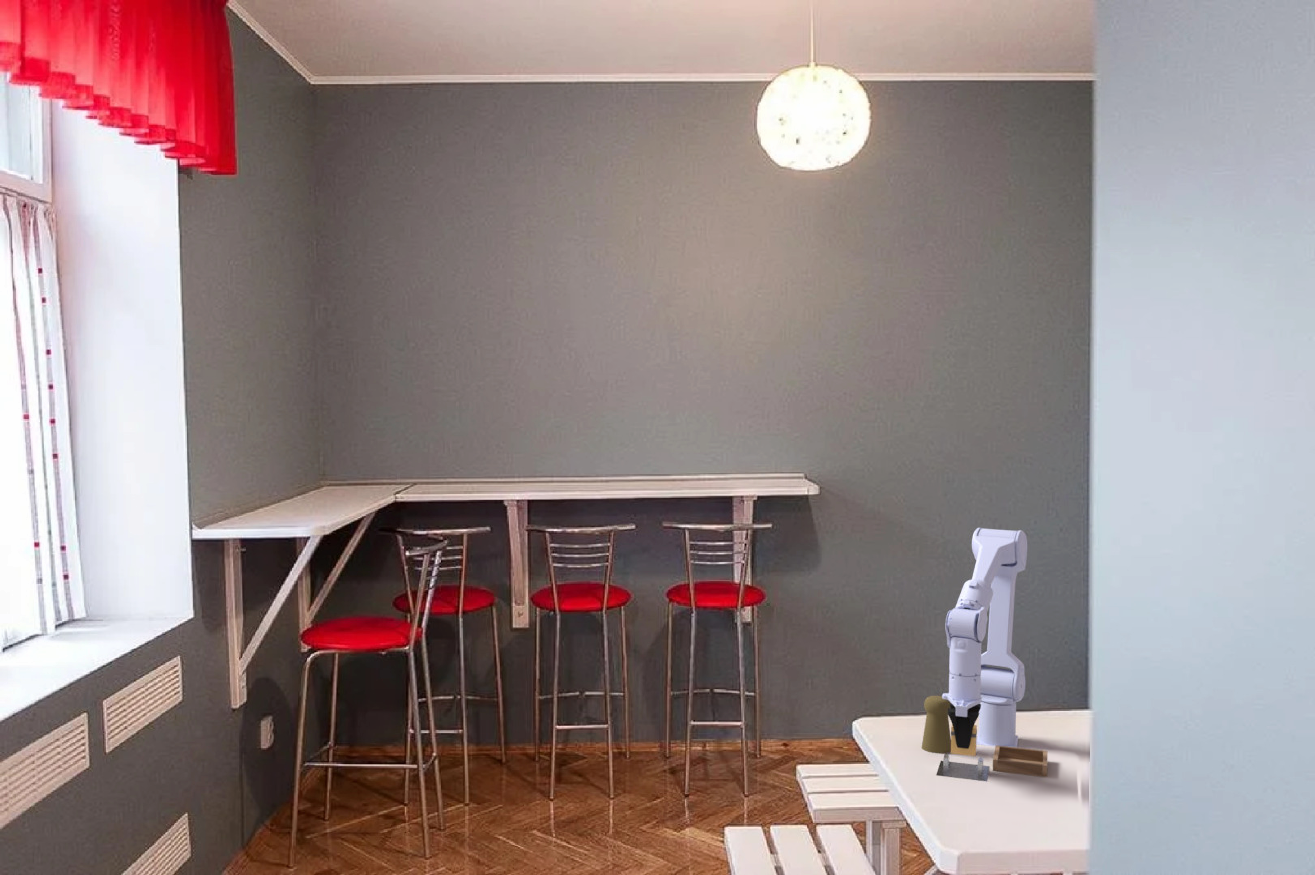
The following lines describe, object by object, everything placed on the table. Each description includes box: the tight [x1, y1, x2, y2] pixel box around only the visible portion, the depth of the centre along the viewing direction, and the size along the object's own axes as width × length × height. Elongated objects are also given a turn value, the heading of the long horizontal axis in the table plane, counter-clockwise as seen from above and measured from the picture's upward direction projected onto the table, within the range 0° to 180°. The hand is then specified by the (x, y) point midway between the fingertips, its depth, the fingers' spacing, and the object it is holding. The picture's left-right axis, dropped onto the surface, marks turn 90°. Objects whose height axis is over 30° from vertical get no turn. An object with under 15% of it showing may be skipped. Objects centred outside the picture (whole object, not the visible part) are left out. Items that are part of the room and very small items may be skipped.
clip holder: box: [935, 753, 990, 782], centre depth 207 cm, size 9×9×3 cm
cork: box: [921, 695, 951, 754], centre depth 220 cm, size 6×6×11 cm
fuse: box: [950, 724, 978, 757], centre depth 207 cm, size 3×4×5 cm, turn 70°
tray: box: [992, 745, 1048, 778], centre depth 210 cm, size 10×10×3 cm
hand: (963, 745), depth 207 cm, fingers closed on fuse, 3 cm apart
